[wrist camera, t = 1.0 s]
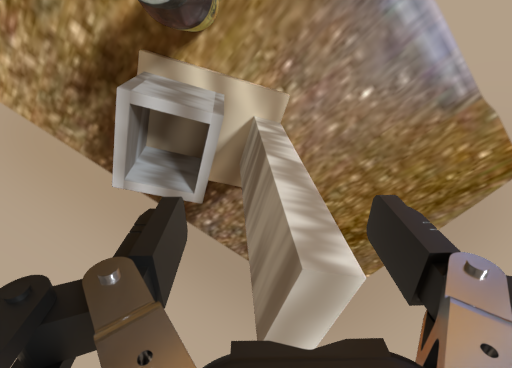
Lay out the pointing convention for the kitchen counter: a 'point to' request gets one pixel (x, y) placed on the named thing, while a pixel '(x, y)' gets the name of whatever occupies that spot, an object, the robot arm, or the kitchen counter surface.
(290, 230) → the grey holder stand
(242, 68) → the kitchen counter surface
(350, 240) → the kitchen counter surface
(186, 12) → the sauce bottle
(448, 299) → the robot arm
